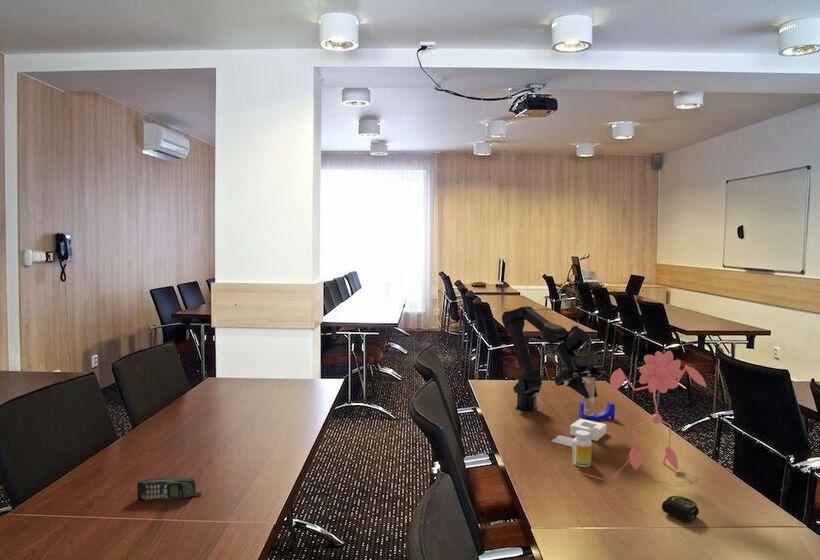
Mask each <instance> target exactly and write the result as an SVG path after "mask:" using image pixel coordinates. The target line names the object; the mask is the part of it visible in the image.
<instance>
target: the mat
mask: <svg viewBox="0 0 820 560" xmlns="http://www.w3.org/2000/svg"><path fill="white" fill-rule="evenodd" d="M573 439H574V438H572V437H569V436H565V435H560V434H559V435H557V436H556V437H555V438H554V439H552V440H551V441H550V442H551V443H555V444H560V445H564V446H568V447H572V448H573Z"/></svg>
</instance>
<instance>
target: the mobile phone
mask: <svg viewBox="0 0 820 560" xmlns="http://www.w3.org/2000/svg"><path fill="white" fill-rule="evenodd" d="M136 488H137V500H139V501H156V500H158V501H159V500H175V501H176V500H183V499H187V498H191V497H192V496H202V494H203V493H202V491H200V492H197V491H196V488H197V487H196V481H195V480H194V478H191V477H162V478H161V477H160V478H156V477H155V478H148V479H143V480H140V481H138V483H137V484H136Z"/></svg>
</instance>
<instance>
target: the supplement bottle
mask: <svg viewBox="0 0 820 560" xmlns="http://www.w3.org/2000/svg"><path fill="white" fill-rule="evenodd" d="M589 438H590V433H589V432H588V431H584V430H578V431H576V435H575V436H574V438H573V447H572V451H571V463H572V464H573V465H575V466H577V467H581V468H582V467H583V468H587V467H591V465H592V450H593V448H592V447H593V442H592V440H591V439H589Z"/></svg>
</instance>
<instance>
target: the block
mask: <svg viewBox="0 0 820 560" xmlns="http://www.w3.org/2000/svg"><path fill="white" fill-rule="evenodd" d="M578 430H584V431H588V432H589V433H590V438H589V439H590V440H591V441H596V442H597V441H598V440H600V439H601V438H602V437H603V436H605V435H606V433H607V424H606V423H602V422H599V421H589V420H585V419H580V418H579V419H577V420H575V421H574V422H573V423H572V424H571V425H570V426H569V431H570V432H569V434H570V436H574V437H576V436H575V435H576V431H578Z"/></svg>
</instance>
